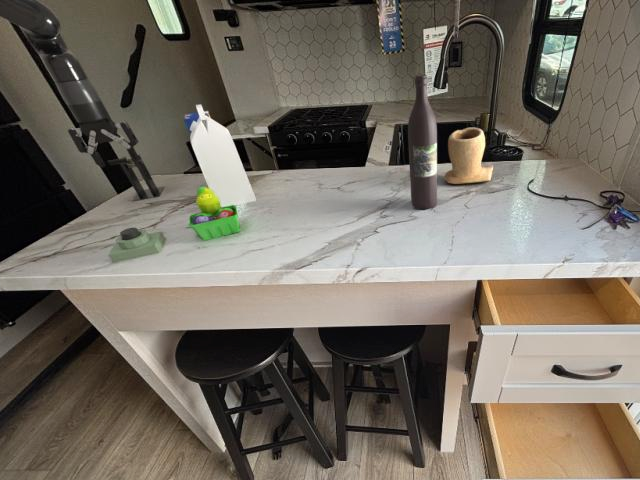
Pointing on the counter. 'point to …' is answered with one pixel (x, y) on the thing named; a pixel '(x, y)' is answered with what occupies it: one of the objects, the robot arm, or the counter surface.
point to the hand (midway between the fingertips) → (119, 164)
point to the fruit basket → (213, 216)
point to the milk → (220, 161)
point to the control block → (137, 246)
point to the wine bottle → (422, 149)
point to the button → (130, 233)
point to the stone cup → (467, 157)
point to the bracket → (141, 193)
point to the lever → (123, 162)
